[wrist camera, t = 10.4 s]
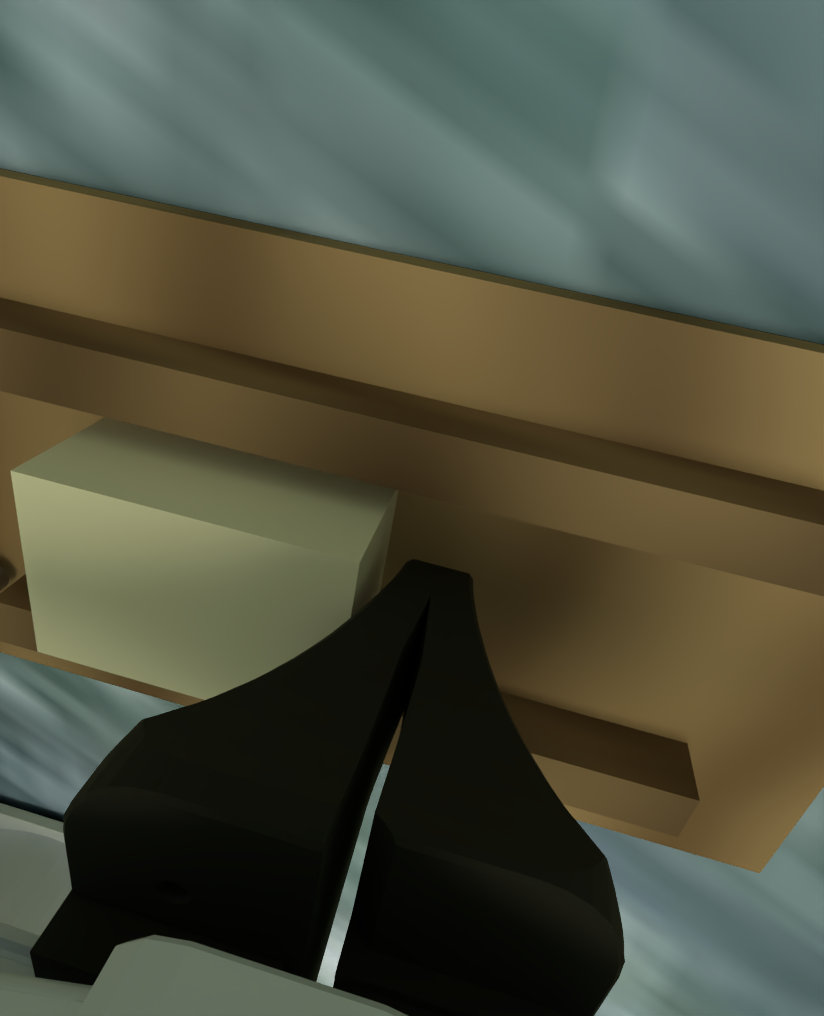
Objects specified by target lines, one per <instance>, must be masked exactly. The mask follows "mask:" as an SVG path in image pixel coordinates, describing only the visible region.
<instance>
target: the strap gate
mask: <svg viewBox="0 0 824 1016" xmlns="http://www.w3.org/2000/svg"><path fill="white" fill-rule="evenodd" d="M8 583H9V577H8V574H7V573H6V571H5V570H4V569H3V568H2V567H1V566H0V591H1V590H2V589H4V588H5V587H6V586H7V585H8Z"/></svg>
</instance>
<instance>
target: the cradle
mask: <svg viewBox="0 0 824 1016" xmlns="http://www.w3.org/2000/svg"><path fill="white" fill-rule="evenodd" d="M105 417H107V418H111V419H115V420H119V421H123V422H127V423H131V424H135V425H139V426H143V427H147V428H151V429H155V430H159V431H163V432H167V433H171V434H175V435H179V436H183V437H187V438H191V439H195V440H199V441H203V442H207V443H211V444H215V445H219V446H223V447H227V448H231V449H235V450H239V451H243V452H247V453H251V454H255V455H259V456H263V457H267V458H271V459H275V460H279V461H283V462H287V463H291V464H295V465H299V466H303V467H307V468H311V469H315V470H319V471H323V472H327V473H331V474H335V475H339V476H343V477H347V478H351V479H355V480H359V481H363V482H367V483H371V484H375V485H379V486H383V487H387V488H391V489H395V490H399V491H398V496H397V502H396V507H395V513H394V518H393V523H392V529H391V534H390V540H389V545H388V550H387V556H386V561H385V567H384V572H383V577H382V583H381V588H380V591H381V590H382V589H383V588H384V587H385V586H386V585H387V584H388V583H389V582H390V581H391V580H392V579H393V578H394V577H395V576H396V575H397V573H398V572H399V571H400V570H401V569H402V567H403V566H404V565H405V563H406V562H407V561H409V560H411V559H416V560H420V561H424V562H427V563H431V564H435V565H439V566H443V567H447V568H450V569H454V570H458V571H462V572H466V573H469V574H470V575H471V577H472V578H473V592H474V601H475V608H476V613H477V619H478V623H479V628H480V632H481V635H482V639H483V643H484V646H485V650H486V653H487V657H488V660H489V663H490V666H491V669H492V671H493V674H494V677H495V680H496V683H497V685H498V688H499V690H500V693H501V695H502V698H503V700H504V702H505V704H506V707H507V709H508V711H509V713H510V715H511V717H512V720H513V722H514V724H515V726H516V728H517V729H518V731H519V733H520V735H521V737H522V739H523V741H524V743H525V745H526V747H527V748H528V750H529V752H530V753H531V755H532V756H533V758H534V760H535V761H536V763H537V765H538V766H539V768H540V770H541V771H542V773H543V775H544V776H545V778H546V779H547V781H548V783H549V784H550V786H551V787H552V789H553V790H554V792H555V793H556V795H557V796H558V798H559V799H560V800H561V802H562V803H563V805H564V806H565V808H566V809H567V810H568V812H569V813H570V814H571V815H572V816H573V818H574V819H576V820H579V821H582V822H586V823H589V824H593V825H596V826H600V827H603V828H606V829H610V830H613V831H617V832H620V833H624V834H627V835H630V836H634V837H637V838H641V839H644V840H648V841H651V842H654V843H658V844H661V845H665V846H668V847H672V848H675V849H679V850H682V851H685V852H689V853H692V854H696V855H699V856H703V857H706V858H709V859H713V860H716V861H720V862H723V863H727V864H730V865H733V866H737V867H740V868H744V869H747V870H751V871H754V872H757V873H760V872H761V871H762V869H763V868H764V867H765V865H766V864H767V862H768V861H769V860H770V858H771V857H772V856H773V854H774V853H775V852H776V850H777V849H778V848H779V846H780V845H781V844H782V842H783V841H784V839H785V838H786V837H787V835H788V834H789V833H790V831H791V830H792V829H793V827H794V826H795V825H796V823H797V822H798V821H799V819H800V818H801V817H802V815H803V814H804V812H805V811H806V810H807V808H808V807H809V806H810V804H811V803H812V802H813V800H814V799H815V798H816V796H817V795H818V794H819V792H820V791H821V789H822V788H823V787H824V345H822V344H817V343H812V342H808V341H803V340H798V339H794V338H789V337H784V336H780V335H775V334H770V333H766V332H761V331H756V330H752V329H747V328H742V327H738V326H733V325H728V324H724V323H719V322H714V321H710V320H705V319H700V318H696V317H691V316H686V315H682V314H677V313H672V312H668V311H663V310H658V309H654V308H649V307H644V306H640V305H635V304H630V303H626V302H621V301H616V300H612V299H607V298H602V297H598V296H593V295H588V294H584V293H579V292H574V291H570V290H565V289H560V288H556V287H551V286H546V285H542V284H537V283H532V282H528V281H523V280H518V279H514V278H509V277H504V276H500V275H495V274H490V273H486V272H481V271H476V270H472V269H467V268H462V267H458V266H453V265H448V264H444V263H439V262H434V261H430V260H425V259H420V258H416V257H411V256H406V255H402V254H397V253H392V252H387V251H383V250H378V249H373V248H369V247H364V246H359V245H355V244H350V243H345V242H341V241H336V240H331V239H327V238H322V237H317V236H313V235H308V234H303V233H299V232H294V231H289V230H285V229H280V228H275V227H271V226H266V225H261V224H257V223H252V222H247V221H243V220H238V219H233V218H229V217H224V216H219V215H215V214H210V213H205V212H201V211H196V210H191V209H187V208H182V207H177V206H173V205H168V204H163V203H159V202H154V201H149V200H145V199H140V198H135V197H131V196H126V195H121V194H117V193H112V192H107V191H103V190H98V189H93V188H89V187H84V186H79V185H75V184H70V183H65V182H61V181H56V180H51V179H47V178H42V177H37V176H33V175H28V174H23V173H19V172H14V171H9V170H5V169H0V566H1V567H2V568H3V569H4V570H5V571H6V573H7V574H8V577H9V583H8V585H7V586H6V587H5V588H4V589H2V590H1V591H0V652H2V653H6V654H9V655H12V656H16V657H19V658H23V659H26V660H30V661H33V662H36V663H40V664H43V665H47V666H50V667H54V668H57V669H60V670H64V671H67V672H71V673H74V674H78V675H81V676H85V677H88V678H91V679H95V680H98V681H102V682H105V683H109V684H112V685H115V686H119V687H122V688H126V689H129V690H133V691H136V692H139V693H143V694H146V695H150V696H153V697H157V698H160V699H163V700H167V701H170V702H174V703H177V704H181V705H184V706H189V705H192V704H195V703H198V702H201V701H204V700H203V699H199V698H196V697H192V696H189V695H185V694H182V693H178V692H175V691H172V690H168V689H165V688H161V687H158V686H154V685H151V684H147V683H144V682H140V681H137V680H133V679H130V678H127V677H123V676H120V675H116V674H113V673H109V672H106V671H102V670H99V669H95V668H92V667H88V666H85V665H82V664H78V663H75V662H71V661H68V660H64V659H61V658H57V657H54V656H50V655H47V654H43V653H40V652H37V645H36V638H35V632H34V625H33V618H32V612H31V605H30V598H29V592H28V585H27V578H26V572H25V565H24V558H23V551H22V545H21V538H20V531H19V525H18V518H17V511H16V505H15V498H14V491H13V485H12V478H11V470H12V469H14V468H16V467H18V466H20V465H21V464H23V463H25V462H27V461H28V460H30V459H32V458H34V457H36V456H37V455H39V454H41V453H43V452H44V451H46V450H48V449H50V448H52V447H53V446H55V445H57V444H59V443H60V442H62V441H64V440H66V439H68V438H69V437H71V436H73V435H75V434H77V433H78V432H80V431H82V430H84V429H85V428H87V427H89V426H91V425H93V424H94V423H96V422H98V421H100V420H101V419H103V418H105ZM403 713H404V712H403ZM402 719H403V714H402V717H401V719H400V722H399V724H398V727H397V729H396V732H395V734H394V737H393V739H392V742H391V744H390V747H389V749H388V752H387V754H386V757H385V759H384V762H383V764H387V765H390V764H391V761H392V758H393V755H394V751H395V748H396V745H397V742H398V739H399V735H400V730H401V725H402Z"/></svg>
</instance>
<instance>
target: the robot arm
mask: <svg viewBox="0 0 824 1016" xmlns="http://www.w3.org/2000/svg"><path fill="white" fill-rule="evenodd" d="M403 712H404V713H403ZM402 714H403V719H402V725H401V730H400V735H399V739H398V742H397V745H396V748H395V751H394V755H393V758H392V761H391V764H390V767H389V771H388V774H387V777H386V780H385V783H384V786H383V789H382V792H381V796H380V799H379V802H378V805H377V808H376V811H375V815H374V819H373V824H372V828H371V832H370V837H369V841H368V845H367V850H366V854H365V859H364V863H363V867H362V872H361V876H360V881H359V885H358V889H357V894H356V898H355V902H354V907H353V911H352V916H351V919H350V923H349V926H348V930H347V934H346V937H345V941H344V944H343V948H342V951H341V955H340V959H339V962H338V966H337V970H336V974H335V981H334V985H333V988H332V987H329V986H326V985H323V984H320V983H317V982H316V981H317V977H318V974H319V970H320V967H321V963H322V960H323V956H324V953H325V949H326V946H327V942H328V939H329V935H330V932H331V928H332V925H333V921H334V918H335V914H336V911H337V907H338V904H339V900H340V897H341V893H342V890H343V886H344V883H345V879H346V876H347V873H348V869H349V866H350V862H351V859H352V855H353V852H354V848H355V845H356V842H357V838H358V835H359V831H360V828H361V825H362V821H363V818H364V814H365V811H366V807H367V805H368V802H369V799H370V796H371V793H372V790H373V787H374V785H375V782H376V780H377V777H378V774H379V772H380V769H381V767H382V764H383V762H384V759H385V757H386V754H387V752H388V749H389V747H390V744H391V742H392V739H393V737H394V734H395V732H396V729H397V727H398V724H399V722H400V719H401V717H402ZM624 962H625V959H624V938H623V929H622V923H621V917H620V912H619V907H618V902H617V897H616V892H615V888H614V884H613V880H612V876H611V872H610V868H609V865H608V861H607V858H606V857H605V855H604V854H603V853H602V852H601V851H600V849H599V848H598V847H597V846H596V844H595V843H594V842H593V841H592V840H591V838H590V837H589V836H588V835H587V834H586V832H585V831H584V830H583V829H582V827H581V826H580V825H579V824H578V823H577V821H576V820H575V819H574V818H573V816H572V815H571V814H570V813H569V812H568V810H567V809H566V808H565V806H564V805H563V803H562V802H561V800H560V799H559V798H558V796H557V795H556V793H555V792H554V790H553V789H552V787H551V786H550V784H549V783H548V781H547V779H546V778H545V776H544V775H543V773H542V771H541V770H540V768H539V766H538V765H537V763H536V761H535V760H534V758H533V756H532V755H531V753H530V752H529V750H528V748H527V747H526V745H525V743H524V741H523V739H522V737H521V735H520V733H519V731H518V729H517V728H516V726H515V724H514V722H513V720H512V717H511V715H510V713H509V711H508V709H507V707H506V704H505V702H504V700H503V698H502V695H501V693H500V690H499V688H498V685H497V683H496V680H495V677H494V674H493V671H492V669H491V666H490V663H489V660H488V657H487V653H486V650H485V646H484V643H483V639H482V635H481V632H480V628H479V623H478V619H477V613H476V608H475V601H474V592H473V578H472V577H471V575H470V574H469V573H466V572H462V571H458V570H454V569H450V568H447V567H443V566H439V565H435V564H431V563H427V562H424V561H420V560H416V559H411V560H409V561H407V562H406V563H405V565H404V566H403V567H402V569H401V570H400V571H399V572H398V573H397V575H396V576H395V577H394V578H393V579H392V580H391V581H390V582H389V583H388V584H387V585H386V586H385V587H384V588H383V589H382V590H381V591H380V592H379V593H378V594H377V595H376V596H375V597H374V598H373V599H372V600H371V601H369V602H368V603H367V604H366V605H365V606H364V607H363V608H362V609H361V610H360V611H358V612H357V613H356V614H355V615H354V616H352V617H351V618H350V619H348V620H347V621H346V622H345V623H343V624H342V625H341V626H340V627H338V628H337V629H336V630H335V631H333V632H332V633H331V634H329V635H328V636H326V637H325V638H324V639H322V640H321V641H319V642H318V643H316V644H315V645H313V646H312V647H310V648H309V649H307V650H306V651H304V652H302V653H301V654H299V655H298V656H296V657H294V658H293V659H291V660H289V661H287V662H285V663H284V664H282V665H280V666H278V667H276V668H275V669H273V670H271V671H269V672H267V673H265V674H263V675H261V676H259V677H258V678H255V679H253V680H251V681H249V682H247V683H245V684H242V685H240V686H238V687H235V688H233V689H231V690H228V691H226V692H224V693H221V694H219V695H217V696H214V697H212V698H209V699H206V700H204V701H201V702H198V703H195V704H192V705H189V706H185V707H182V708H179V709H176V710H173V711H170V712H166V713H163V714H160V715H157V716H153V717H150V718H146V719H143V720H141V721H140V722H139V723H138V724H137V725H136V726H135V727H134V728H133V729H132V730H131V731H130V732H129V733H128V734H127V735H126V736H125V737H124V738H123V739H122V740H121V741H120V742H119V743H118V744H117V746H116V747H115V748H114V749H113V750H112V751H111V752H110V753H109V754H108V755H107V756H106V757H105V759H104V760H103V761H102V762H101V764H100V765H99V766H98V767H97V769H96V770H95V771H94V773H93V774H92V775H91V777H90V778H89V779H88V781H87V782H86V783H85V784H84V786H83V787H82V788H81V790H80V791H79V792H78V794H77V795H76V796H75V797H74V799H73V800H72V802H71V803H70V805H69V807H68V809H67V810H66V812H65V814H64V823H63V822H60V821H57V820H54V819H50V818H47V817H44V816H41V815H38V814H34V813H31V812H28V811H25V810H22V809H19V808H15V807H12V806H9V805H6V804H3V803H0V1016H594V1015H595V1013H596V1012H597V1010H598V1009H599V1007H600V1006H601V1004H602V1003H603V1001H604V1000H605V998H606V996H607V995H608V993H609V992H610V990H611V989H612V987H613V986H614V984H615V983H616V981H617V980H618V978H619V976H620V973H621V970H622V968H623V965H624Z"/></svg>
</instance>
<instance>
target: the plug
mask: <svg viewBox="0 0 824 1016" xmlns="http://www.w3.org/2000/svg"><path fill="white" fill-rule="evenodd" d="M11 478H12V485H13V491H14V498H15V505H16V511H17V518H18V525H19V531H20V538H21V545H22V551H23V558H24V565H25V572H26V578H27V585H28V592H29V598H30V605H31V612H32V618H33V625H34V632H35V638H36V645H37V652H40V653H43V654H47V655H50V656H54V657H57V658H61V659H64V660H68V661H71V662H75V663H78V664H82V665H85V666H88V667H92V668H95V669H99V670H102V671H106V672H109V673H113V674H116V675H120V676H123V677H127V678H130V679H133V680H137V681H140V682H144V683H147V684H151V685H154V686H158V687H161V688H165V689H168V690H172V691H175V692H178V693H182V694H185V695H189V696H192V697H196V698H199V699H203V700H206V699H209V698H212V697H214V696H217V695H219V694H221V693H224V692H226V691H228V690H231V689H233V688H235V687H238V686H240V685H242V684H245V683H247V682H249V681H251V680H253V679H255V678H258V677H259V676H261V675H263V674H265V673H267V672H269V671H271V670H273V669H275V668H276V667H278V666H280V665H282V664H284V663H285V662H287V661H289V660H291V659H293V658H294V657H296V656H298V655H299V654H301V653H302V652H304V651H306V650H307V649H309V648H310V647H312V646H313V645H315V644H316V643H318V642H319V641H321V640H322V639H324V638H325V637H326V636H328V635H329V634H331V633H332V632H333V631H335V630H336V629H337V628H338V627H340V626H341V625H342V624H343V623H345V622H346V621H347V620H348V619H350V618H351V617H352V616H354V615H355V614H356V613H357V612H358V611H360V610H361V609H362V608H363V607H364V606H365V605H366V604H367V603H368V602H369V601H371V600H372V599H373V598H374V597H375V596H376V595H377V594H378V593H379V592H380V588H381V583H382V577H383V572H384V567H385V561H386V556H387V550H388V545H389V540H390V534H391V529H392V523H393V518H394V513H395V507H396V502H397V496H398V491H399V490H395V489H391V488H387V487H383V486H379V485H375V484H371V483H367V482H363V481H359V480H355V479H351V478H347V477H343V476H339V475H335V474H331V473H327V472H323V471H319V470H315V469H311V468H307V467H303V466H299V465H295V464H291V463H287V462H283V461H279V460H275V459H271V458H267V457H263V456H259V455H255V454H251V453H247V452H243V451H239V450H235V449H231V448H227V447H223V446H219V445H215V444H211V443H207V442H203V441H199V440H195V439H191V438H187V437H183V436H179V435H175V434H171V433H167V432H163V431H159V430H155V429H151V428H147V427H143V426H139V425H135V424H131V423H127V422H123V421H119V420H115V419H111V418H107V417H105V418H103V419H101V420H100V421H98V422H96V423H94V424H93V425H91V426H89V427H87V428H85V429H84V430H82V431H80V432H78V433H77V434H75V435H73V436H71V437H69V438H68V439H66V440H64V441H62V442H60V443H59V444H57V445H55V446H53V447H52V448H50V449H48V450H46V451H44V452H43V453H41V454H39V455H37V456H36V457H34V458H32V459H30V460H28V461H27V462H25V463H23V464H21V465H20V466H18V467H16V468H14V469H12V470H11Z"/></svg>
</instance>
